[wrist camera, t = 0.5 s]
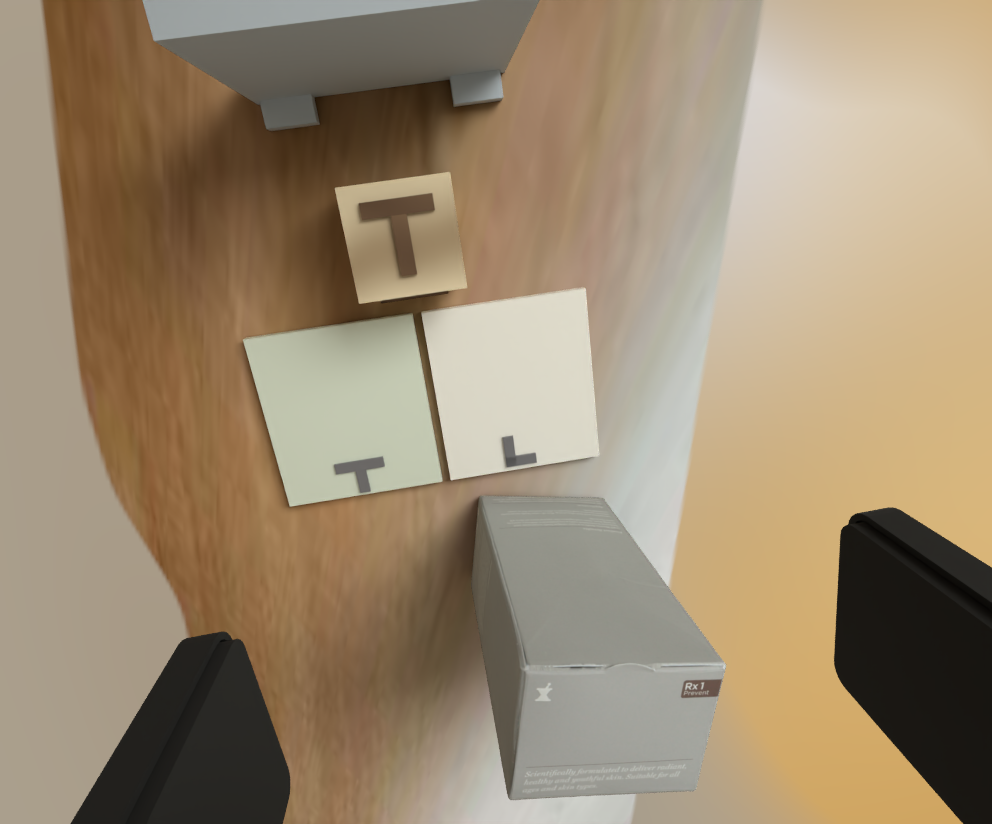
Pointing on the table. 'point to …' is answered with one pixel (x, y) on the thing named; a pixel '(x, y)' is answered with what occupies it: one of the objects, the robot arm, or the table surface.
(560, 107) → the table surface
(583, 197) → the table surface
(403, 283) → the letter cube
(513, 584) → the skincare box
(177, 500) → the table surface
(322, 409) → the pad
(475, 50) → the screen
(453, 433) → the pad
